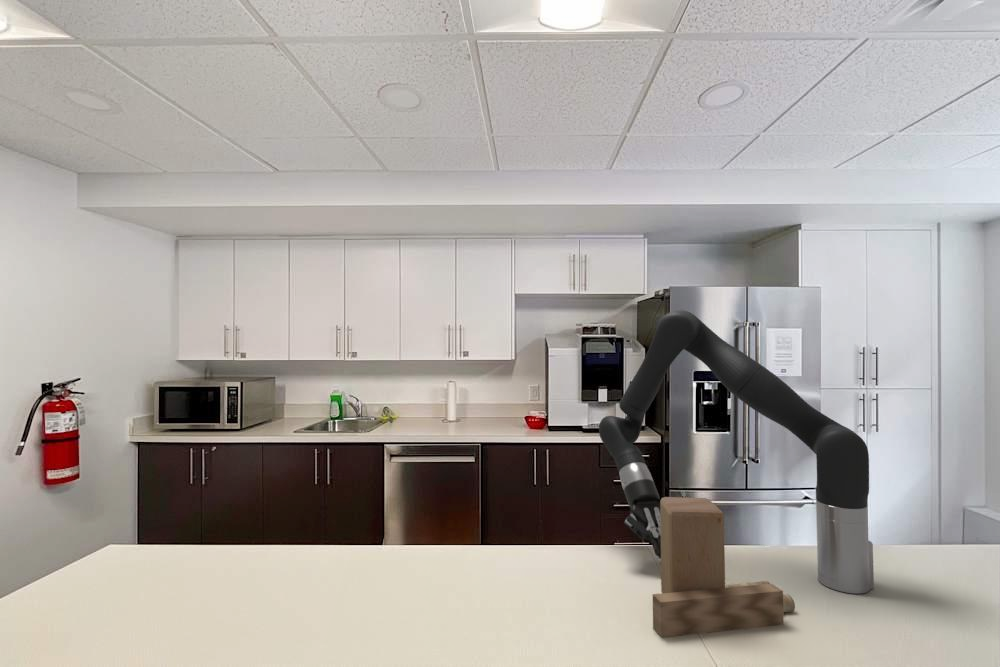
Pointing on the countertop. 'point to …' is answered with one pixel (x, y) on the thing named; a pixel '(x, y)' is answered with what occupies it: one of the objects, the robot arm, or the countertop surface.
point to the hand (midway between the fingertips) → (664, 556)
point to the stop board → (717, 609)
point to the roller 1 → (747, 584)
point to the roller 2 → (788, 603)
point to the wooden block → (691, 545)
